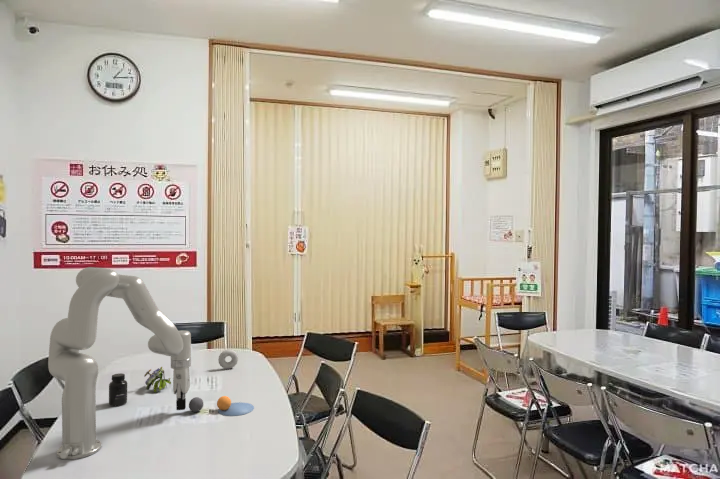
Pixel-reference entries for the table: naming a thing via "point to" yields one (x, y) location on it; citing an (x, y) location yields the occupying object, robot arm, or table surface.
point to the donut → (232, 363)
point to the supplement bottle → (118, 390)
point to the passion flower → (155, 376)
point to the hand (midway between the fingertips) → (181, 409)
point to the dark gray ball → (196, 404)
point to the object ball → (224, 403)
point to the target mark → (237, 409)
